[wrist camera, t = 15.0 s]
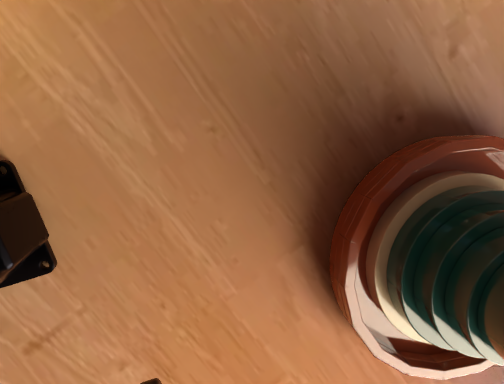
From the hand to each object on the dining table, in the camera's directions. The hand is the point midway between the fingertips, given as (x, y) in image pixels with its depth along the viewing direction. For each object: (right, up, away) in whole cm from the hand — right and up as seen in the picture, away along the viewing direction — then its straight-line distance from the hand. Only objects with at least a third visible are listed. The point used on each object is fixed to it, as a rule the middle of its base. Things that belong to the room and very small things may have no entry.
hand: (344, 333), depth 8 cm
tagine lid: (+10, -1, +14) cm, 18 cm away
